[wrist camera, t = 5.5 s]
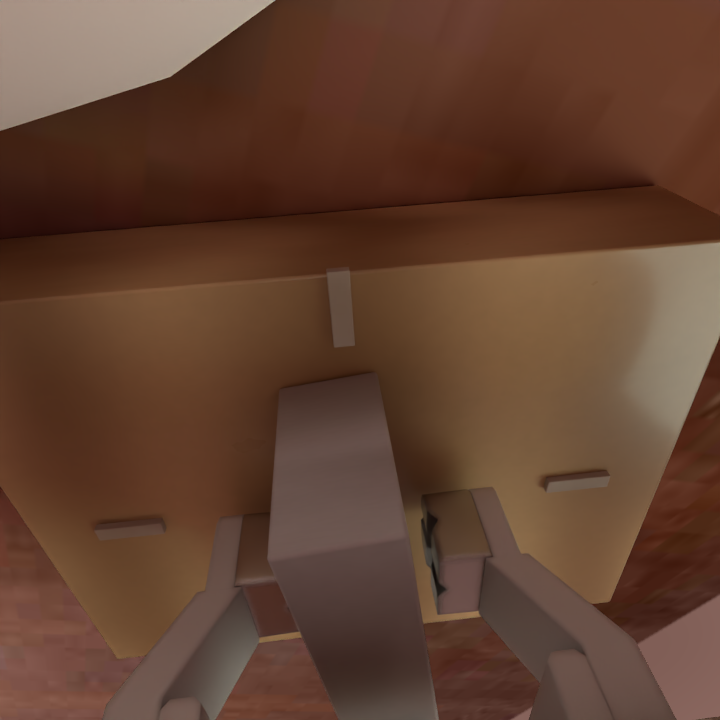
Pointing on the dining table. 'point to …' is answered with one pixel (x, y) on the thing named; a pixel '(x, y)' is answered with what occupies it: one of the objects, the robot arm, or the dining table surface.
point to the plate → (101, 48)
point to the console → (349, 358)
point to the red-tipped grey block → (348, 550)
